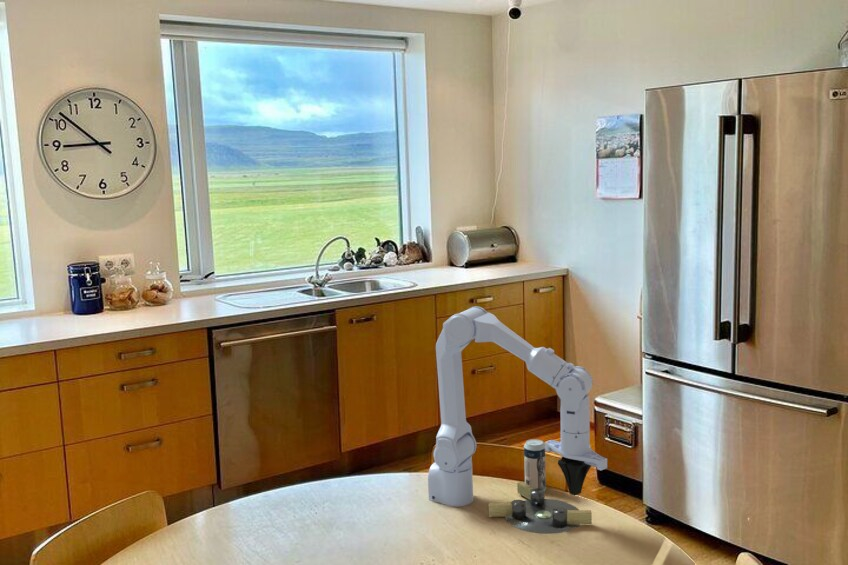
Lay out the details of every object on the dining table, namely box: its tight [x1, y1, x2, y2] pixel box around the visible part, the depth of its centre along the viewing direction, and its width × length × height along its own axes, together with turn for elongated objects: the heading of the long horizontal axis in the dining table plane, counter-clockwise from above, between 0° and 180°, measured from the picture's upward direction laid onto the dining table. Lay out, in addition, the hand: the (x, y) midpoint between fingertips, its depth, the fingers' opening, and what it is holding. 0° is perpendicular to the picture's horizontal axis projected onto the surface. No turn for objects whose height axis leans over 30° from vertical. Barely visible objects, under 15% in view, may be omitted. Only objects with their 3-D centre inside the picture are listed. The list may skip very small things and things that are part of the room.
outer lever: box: [552, 508, 593, 527], centre depth 154 cm, size 8×3×3 cm, turn 83°
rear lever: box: [516, 481, 546, 507], centre depth 166 cm, size 8×3×3 cm, turn 30°
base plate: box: [504, 498, 581, 535], centre depth 159 cm, size 16×16×2 cm
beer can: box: [523, 438, 547, 492], centre depth 171 cm, size 5×5×12 cm
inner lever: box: [487, 499, 526, 519], centre depth 158 cm, size 8×3×3 cm, turn 92°
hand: (575, 493), depth 155 cm, fingers closed
